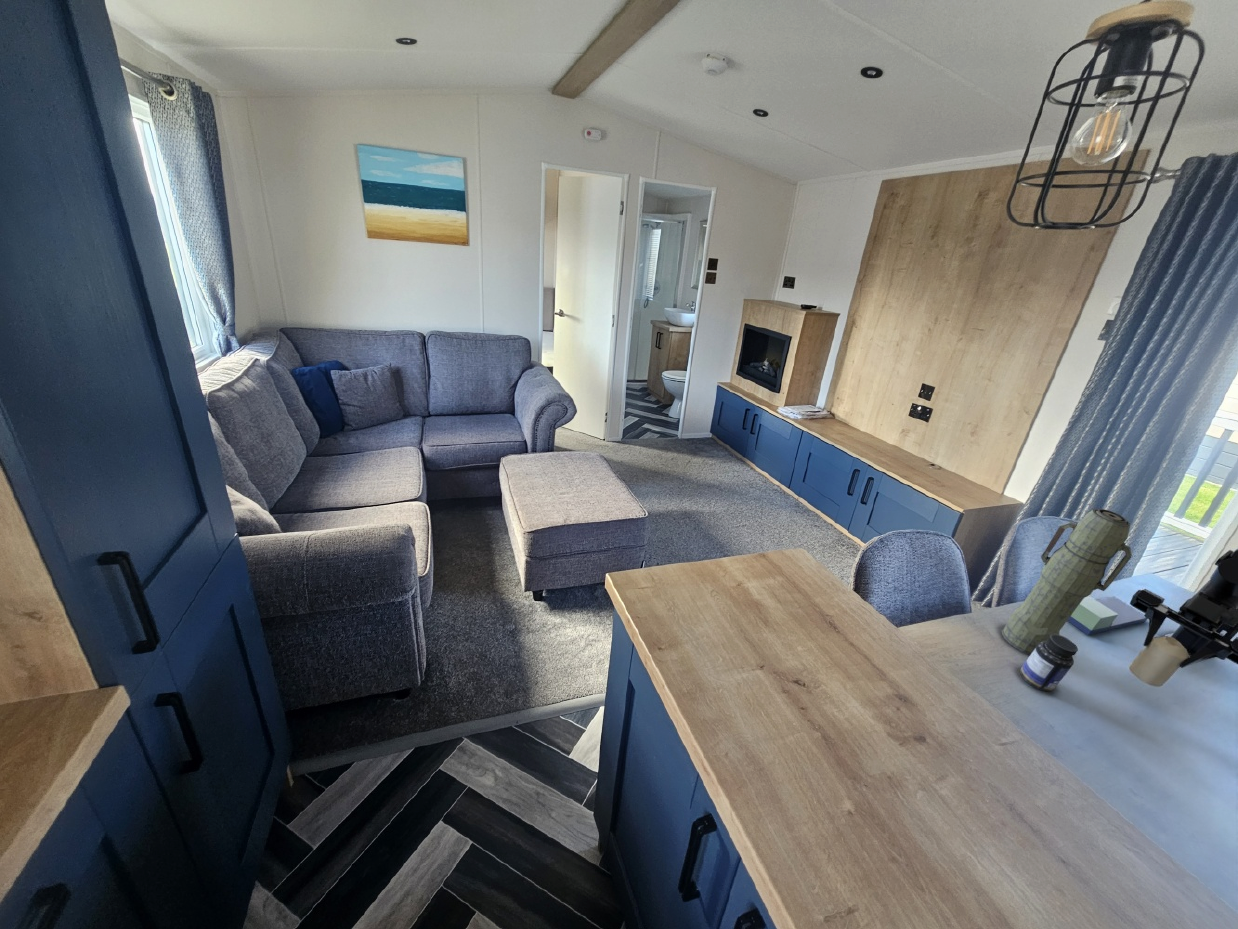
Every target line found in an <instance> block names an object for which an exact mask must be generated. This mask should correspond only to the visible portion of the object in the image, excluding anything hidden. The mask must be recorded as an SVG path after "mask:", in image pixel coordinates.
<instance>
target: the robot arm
mask: <svg viewBox="0 0 1238 929" xmlns="http://www.w3.org/2000/svg"><path fill="white" fill-rule="evenodd" d="M1214 566H1217V567H1216V568H1215V570H1214V571H1213V572H1212V574H1211V576H1210V578H1209V580H1208V581H1207V582H1206V583H1205V584H1204V585H1202V587H1201V588H1200V589H1199V590H1198V591H1197V592H1196V593H1195V594H1194V595H1192V597H1190V598H1188V599H1187V600H1186V601H1185V602H1184V603H1182V604H1181V606H1179V608H1178V611H1176V610H1174V609H1172V608H1171V607H1170V606H1168V605H1166V604H1164V601H1165V600H1166V599H1165V598H1164V597H1162V596H1160V595H1159V594H1157V593H1154V592H1153V591H1151V590H1149V589H1147V588H1139V589H1137V591H1136V592H1134V594H1133V595H1132V597H1131V599H1130V601H1129V605H1130V606H1131V607H1132V608H1134V609H1135V610H1137V611H1139V612H1142V613H1143V615H1144V616H1145V617H1146V618H1147V620H1148V627H1147V628H1148V629H1147V634H1146V635H1145V639H1144V642H1143V647H1144V648H1145V647H1146V646H1147V645H1148V644H1149V643H1150V641H1151V640H1152V639H1153V638H1154V637H1156V634H1157V633H1158V631H1159V630H1160V629H1161V627H1162V625H1163V624H1164V622H1165V621H1166V619H1169V620H1170V621H1173V622H1175V623H1176V624H1178V625H1179V626H1178V628H1176V629H1175V631H1174V632H1172V633H1168V634H1164V635H1163V636H1162V637H1173V638H1175V639H1176V640H1177V641H1179V642H1180V643H1181V644H1182V646H1183V647H1184V648H1185V649H1186V650H1187V652H1188V654H1189V658H1188V659H1186V660H1185V661H1184V662H1183V663H1182V664H1181V665H1180V667H1179V668H1180V669H1184V668H1186V667H1189V666H1192V665H1194V664H1196V663H1200V662H1202V661H1205V660H1211V659H1214V658H1216V659H1219V660H1221V661H1225V660H1226V659H1227V660H1229V661H1230V662H1233V663H1234V664H1236V665H1238V636H1236V635H1237V634H1238V547H1237V548H1236V549H1235V550H1232V549H1228V551H1226V552H1225V553H1224V554H1222V555H1221V556H1220V557H1218V558H1217V560H1216V561H1215V563H1214ZM1235 636H1236V637H1235ZM1234 637H1235V638H1234ZM1233 638H1234V639H1233ZM1232 639H1233V640H1232ZM1190 655H1191V656H1190Z"/></svg>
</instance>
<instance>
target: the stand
mask: <svg viewBox="0 0 1238 929" xmlns="http://www.w3.org/2000/svg"><path fill="white" fill-rule="evenodd" d="M1144 615H1145V614H1144V613H1143V612H1142V613H1141V611H1140V610H1138V609H1136V608H1135V607H1133V606H1131V605H1130V604H1128V603H1126V602H1124V601H1122V599H1119V598H1117V597H1116V596H1109V597H1104V598H1103V597H1102V598H1099V599H1098V598H1097V599H1095V598H1094V597H1092V596H1091V595H1089V596H1087V597H1085V598H1084V599H1083V600H1082V601H1081V603H1080V604H1079V605H1078V607H1077V608H1076V609H1075V611H1074V612H1073V613H1072V615H1071V616H1070V617H1069V619H1068V620H1067V622H1069V623H1070V624H1072V625H1073V626H1075V627H1076V628H1077V629H1079V630H1080V631H1082V632H1083V633H1084V634H1086V635H1087V636H1090V635H1094V634H1098V633H1103V632H1107V631H1111V630H1116V629H1120V628H1124V627H1129V626H1134V625H1137V624H1143V623H1146V621H1148V619H1147V618H1146V617H1145V616H1144Z"/></svg>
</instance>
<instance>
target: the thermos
mask: <svg viewBox="0 0 1238 929" xmlns="http://www.w3.org/2000/svg"><path fill="white" fill-rule="evenodd" d="M1069 528H1070V529H1072V531H1071V532H1070V534H1069V536H1068V539H1067V541H1064V542H1063V544H1062V546H1060V547H1059V548H1057V549H1056V550H1055V551H1053V552H1052V550H1053V549H1054V547H1055V546H1056V544H1057V543H1058V541H1059V540H1060V539H1061V537H1062V535H1063V534H1064V532H1065V530H1067V529H1069ZM1130 528H1131V522H1130V521H1129V520H1127V518H1126V517H1124V516H1123V515H1121V514H1119V513H1117V512H1115V511H1111V510H1109V509H1104V508H1094V509H1091V510H1090V511H1089V512H1087V513H1086V514H1085V515H1084V516H1083V517H1082V518H1081V519H1079V520H1078V522H1077V523H1076V522H1073V521H1070V522H1066V523H1062V524H1060V525H1059V526H1058V528H1057V530H1056V532H1055V533H1054V535H1053V536H1052V538H1051V540H1050V541H1049V544H1048V545H1047V547H1046V548H1045V550H1043V552H1042V554H1041V555H1040V558H1041V560H1042V563H1044V566H1043V567H1042V569H1041V571H1040V577H1039V579H1038V580H1037V581H1036V583H1035V584H1034V585H1033V587H1032V589H1031V590H1030V592H1029V593H1028V594H1027V596H1026V598H1025V599H1024V601H1023V602H1022V603H1021V605H1020V606H1018V607H1016V609H1014V610H1013V612H1011V614H1010V615H1009V617H1008V619H1007V621H1006V624H1005V626H1004V627H1003V628H1002V629H1001V635H1002V637H1003V638H1004V640H1005V641H1006V642H1007V643H1008V644H1009V645H1011V646H1012V647H1013V648H1014V649H1016V650H1017V651H1020V652H1021V653H1023V654H1026V655H1028V656H1030V655H1031V654H1032V652H1033V651H1034V649H1035V648H1036V647H1037V645H1038V644H1039V643H1040V642H1044V641H1046V642H1047V639H1048V638H1049V636H1050V635H1051V634H1057V635H1061V630H1062V628H1063V627H1064V626H1065V624H1067V622H1068V621H1067V620H1068V619H1069V617H1070V616H1071V615H1072V613H1073V612H1074V611H1075V609H1076V608H1077V607H1078V605H1079V604H1080V603H1081V601H1082V600H1083V599H1084V598H1085V597H1087V596H1091V595H1092V593H1093V592H1094V591H1096V590H1099V591H1102V592H1105V591H1106V590H1107V589H1108V588H1109V587H1110V586H1111V584H1112V583H1113V582H1114V581H1115V579H1116V578H1117V577H1118V575H1119V574H1120V572H1122V570H1123V569H1124V568H1125V566H1126V565H1127V563H1128V562H1129V561H1130V560H1131V559H1132V554H1133V553H1132V549H1131V546H1128V545H1126V543H1125V542H1126V541H1127V539H1128V537H1129V533H1130ZM1051 552H1052V554H1051ZM1118 552H1124V553H1125V554H1124V556H1123V557H1122V559H1121V560H1120V561H1119V562H1118V564H1117V565H1116V567H1115V568H1114V569H1113V570H1112V571H1111V573H1110V574H1109V576H1108V577H1107V578H1106V579H1105V581H1104V582H1103V583H1102V580H1103V578H1104V577H1105V573H1106V568H1107V566H1108V565H1109V563H1110V560H1111V559H1112V558H1114V557H1115V556H1116V555H1117V553H1118ZM1050 554H1051V555H1050ZM1049 555H1050V556H1049Z"/></svg>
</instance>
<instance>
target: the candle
mask: <svg viewBox="0 0 1238 929" xmlns="http://www.w3.org/2000/svg"><path fill="white" fill-rule="evenodd" d="M1189 657H1190V654H1189V653H1188V652H1187V650H1186V649H1185V648H1184V647H1183V646H1182V644H1181V643H1180V642H1179V641H1177V640H1176V639H1175V638H1173V637H1163V636H1154V637H1153V639H1152V640H1151V641H1150V643H1149V644H1148V645H1147V646H1146V647H1145V646H1144V648H1143V649H1142V650H1141V652H1139V654H1138V655H1137V656H1136V658H1134V660H1133V661H1132V662H1131V663H1130V665H1128V669H1129V672H1130V673H1131V674H1132V675H1133V676H1135V678H1137V679H1138V680H1140V681H1141V682H1143V683H1144V684H1147V685H1149V686H1152V687H1155V688H1161V687H1163V686H1164V684H1166V682H1168V680H1169V679H1170V678H1171V677H1172V676H1173V675H1174V674H1175V673H1176V672H1177V671H1178V670H1179V669H1180V668H1181V667H1180V665H1181V664H1182V663H1183V662H1184V661H1185V660H1186V659H1188V658H1189Z"/></svg>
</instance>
